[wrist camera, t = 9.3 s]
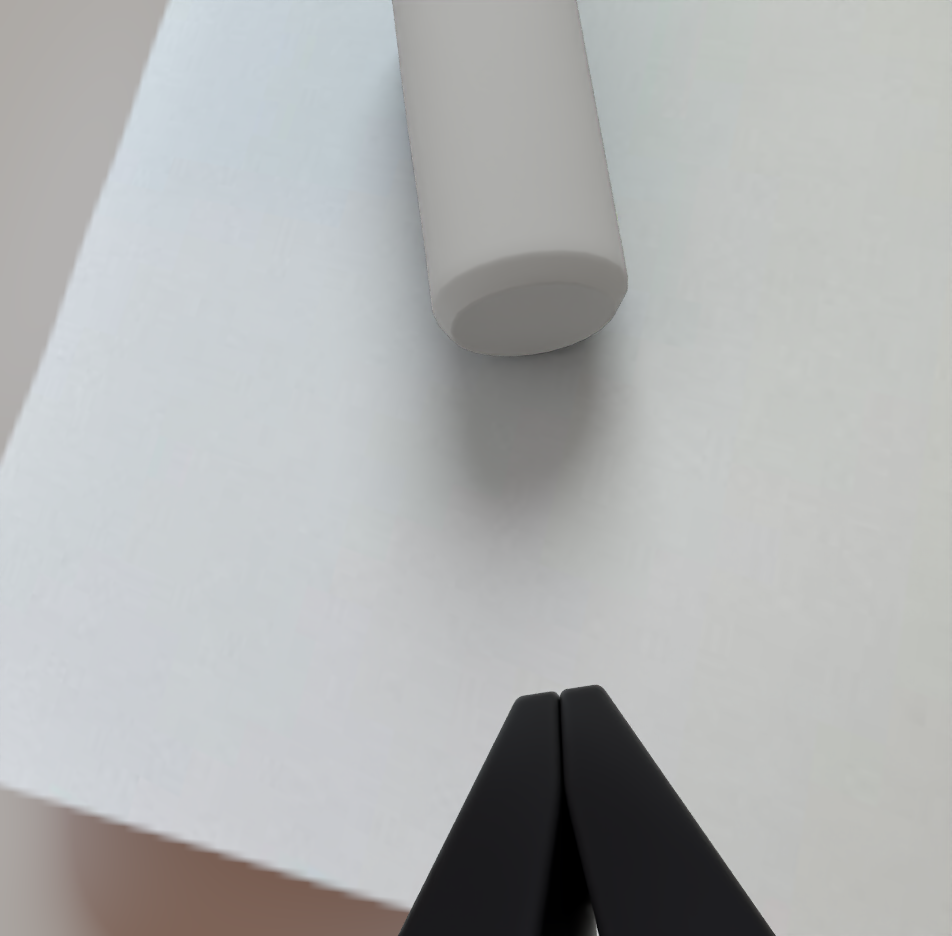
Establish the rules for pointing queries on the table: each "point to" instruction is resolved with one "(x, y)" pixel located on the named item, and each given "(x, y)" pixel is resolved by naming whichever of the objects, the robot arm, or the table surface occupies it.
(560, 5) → the beverage can
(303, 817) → the table surface
